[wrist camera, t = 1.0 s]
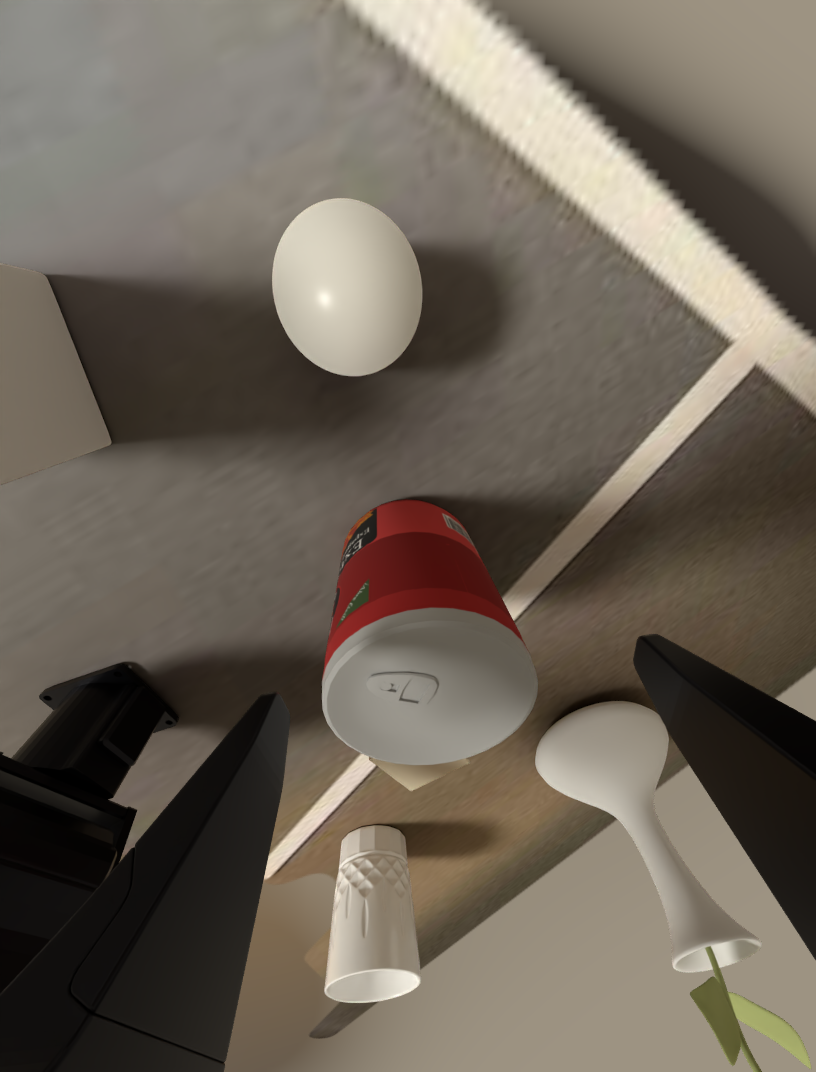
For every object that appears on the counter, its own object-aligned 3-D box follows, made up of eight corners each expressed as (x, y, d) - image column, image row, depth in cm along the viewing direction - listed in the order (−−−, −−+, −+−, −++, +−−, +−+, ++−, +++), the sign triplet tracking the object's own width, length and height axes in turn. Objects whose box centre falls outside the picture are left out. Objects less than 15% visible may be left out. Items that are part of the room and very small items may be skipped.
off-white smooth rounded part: (328, 384, 18) (314, 396, 14) (279, 267, 16) (242, 235, 11) (423, 347, 18) (440, 346, 13) (387, 221, 15) (392, 169, 11)
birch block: (405, 727, 31) (410, 791, 26) (369, 696, 29) (369, 759, 24) (455, 701, 30) (470, 762, 25) (422, 666, 28) (431, 727, 23)
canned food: (344, 489, 21) (319, 616, 11) (481, 499, 22) (569, 624, 12) (341, 599, 24) (319, 770, 14) (458, 603, 25) (513, 766, 15)
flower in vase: (668, 732, 34) (1218, 1448, 12) (559, 782, 36) (848, 1455, 14) (619, 654, 29) (1460, 1701, 6) (496, 720, 31) (801, 1644, 9)
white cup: (356, 814, 36) (351, 966, 27) (424, 828, 38) (439, 973, 29) (323, 852, 39) (308, 1001, 30) (388, 863, 41) (392, 1004, 32)
